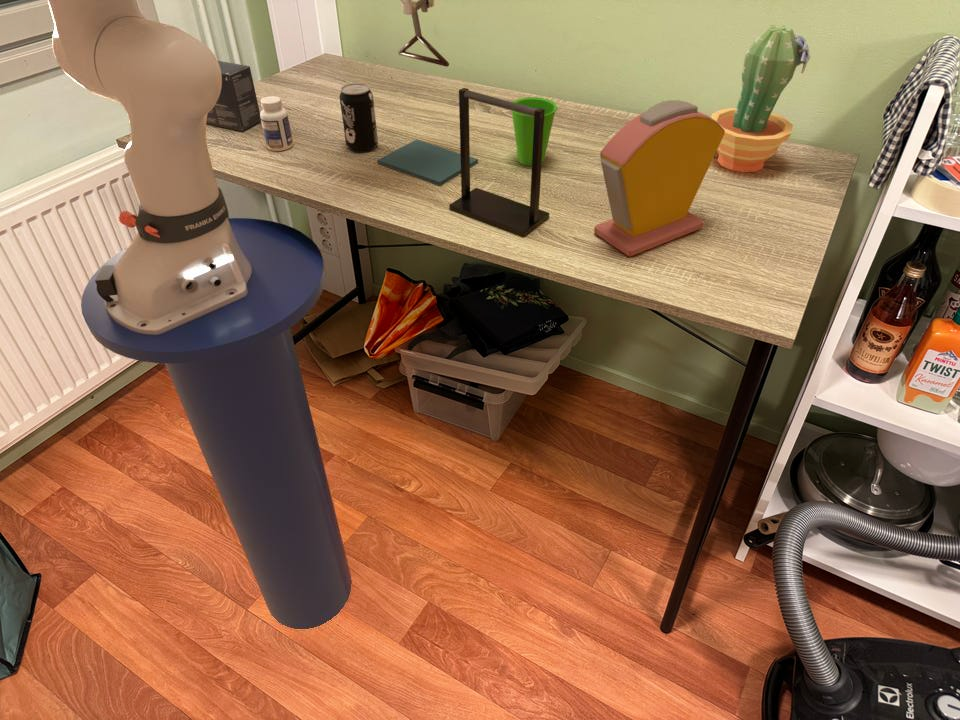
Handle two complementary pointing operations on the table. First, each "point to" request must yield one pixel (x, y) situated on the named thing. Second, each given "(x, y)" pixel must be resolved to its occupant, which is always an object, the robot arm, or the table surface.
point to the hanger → (422, 40)
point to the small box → (235, 99)
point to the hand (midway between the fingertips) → (418, 10)
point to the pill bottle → (275, 124)
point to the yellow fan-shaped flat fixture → (656, 175)
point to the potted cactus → (760, 100)
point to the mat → (426, 162)
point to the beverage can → (358, 117)
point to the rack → (491, 205)
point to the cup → (532, 127)
